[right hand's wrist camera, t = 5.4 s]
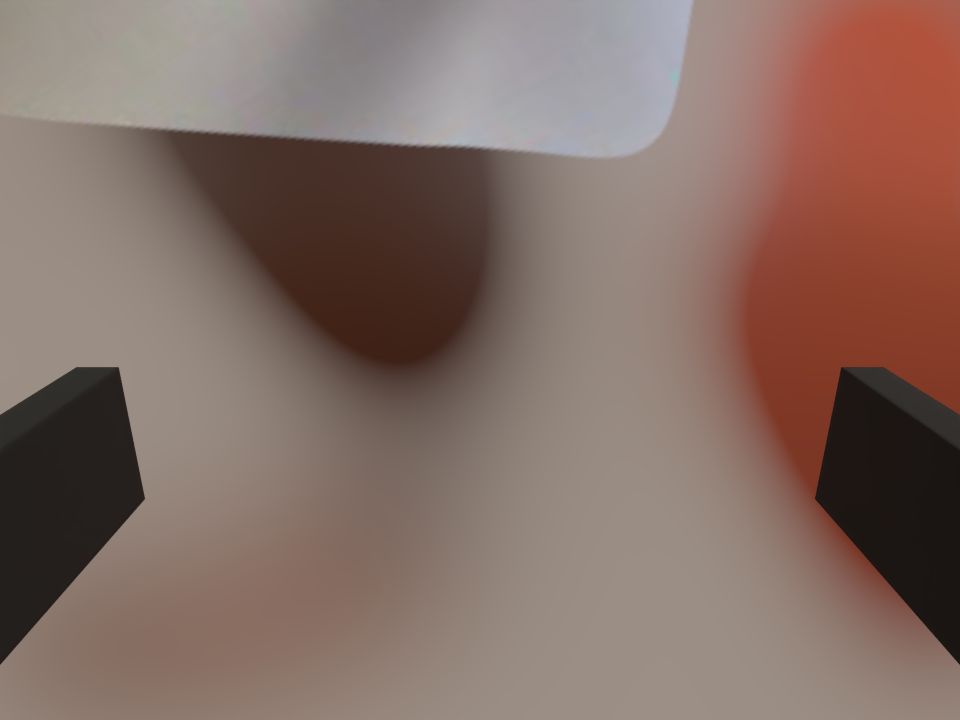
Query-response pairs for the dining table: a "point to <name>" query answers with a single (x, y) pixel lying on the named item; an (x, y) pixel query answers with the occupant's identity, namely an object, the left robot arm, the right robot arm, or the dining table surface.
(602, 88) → the dining table surface
